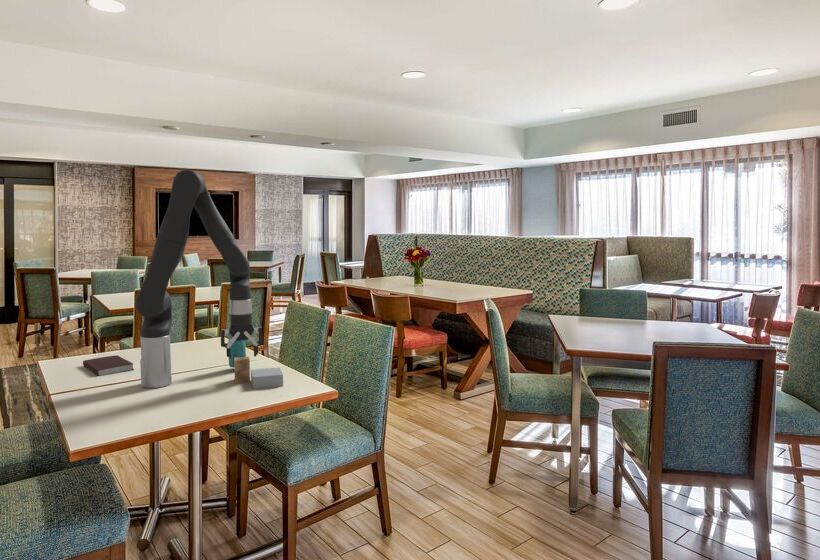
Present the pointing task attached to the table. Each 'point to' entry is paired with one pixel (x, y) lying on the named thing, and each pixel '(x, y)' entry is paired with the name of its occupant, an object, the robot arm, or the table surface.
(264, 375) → the base plinth
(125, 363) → the book
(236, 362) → the walnut block
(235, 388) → the table surface
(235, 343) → the beverage bottle
